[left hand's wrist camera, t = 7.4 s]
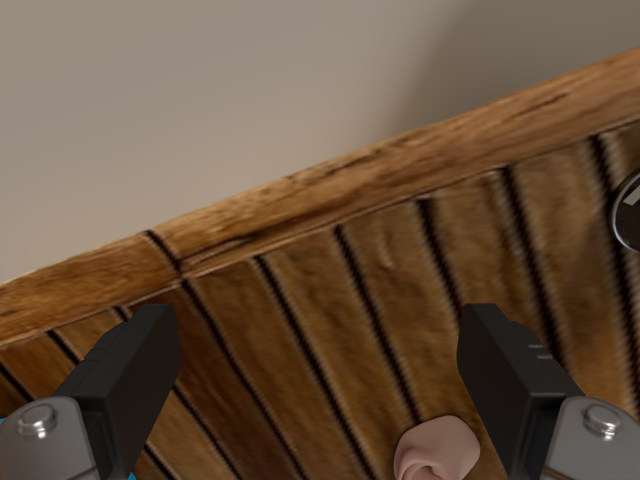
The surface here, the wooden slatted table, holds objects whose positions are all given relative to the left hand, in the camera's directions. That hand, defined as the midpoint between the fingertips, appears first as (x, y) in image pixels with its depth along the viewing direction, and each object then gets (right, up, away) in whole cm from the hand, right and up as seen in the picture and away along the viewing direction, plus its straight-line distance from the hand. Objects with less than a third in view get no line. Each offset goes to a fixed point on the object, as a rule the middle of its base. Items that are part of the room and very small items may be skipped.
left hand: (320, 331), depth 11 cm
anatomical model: (+15, -25, +41) cm, 51 cm away
